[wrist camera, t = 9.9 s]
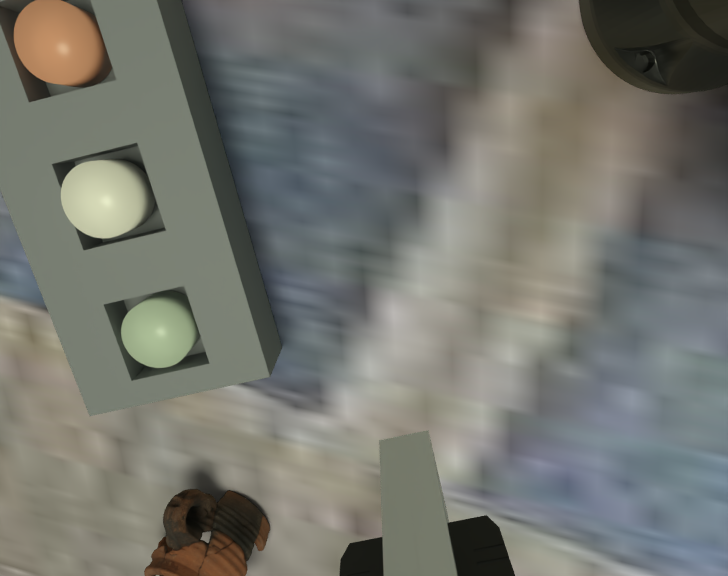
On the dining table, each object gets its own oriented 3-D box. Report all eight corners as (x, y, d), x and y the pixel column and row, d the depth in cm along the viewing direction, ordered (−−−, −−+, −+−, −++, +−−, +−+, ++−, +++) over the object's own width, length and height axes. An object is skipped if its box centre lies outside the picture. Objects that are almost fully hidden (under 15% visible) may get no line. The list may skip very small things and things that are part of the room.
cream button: (141, 151, 39) (122, 152, 36) (164, 222, 40) (148, 228, 38) (72, 168, 40) (49, 171, 37) (97, 238, 41) (77, 246, 38)
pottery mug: (292, 548, 53) (246, 638, 47) (215, 532, 58) (164, 613, 52) (238, 461, 48) (178, 551, 42) (158, 451, 52) (93, 531, 46)
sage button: (191, 284, 43) (178, 294, 40) (211, 345, 44) (200, 359, 41) (128, 298, 43) (111, 310, 40) (149, 358, 45) (134, 374, 42)
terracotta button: (99, 0, 38) (77, -12, 35) (124, 77, 39) (105, 73, 36) (29, 19, 38) (1, 9, 35) (56, 95, 40) (31, 92, 37)
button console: (168, -44, 40) (134, -75, 34) (282, 347, 48) (270, 376, 42) (-17, 6, 41) (-81, -15, 35) (123, 382, 49) (89, 416, 43)
